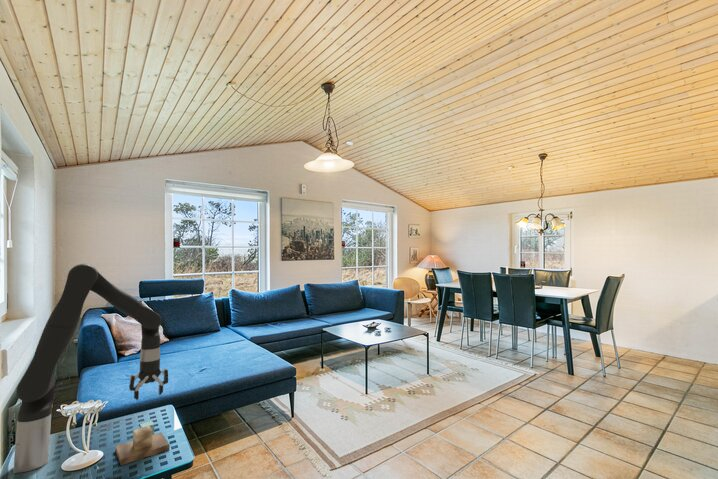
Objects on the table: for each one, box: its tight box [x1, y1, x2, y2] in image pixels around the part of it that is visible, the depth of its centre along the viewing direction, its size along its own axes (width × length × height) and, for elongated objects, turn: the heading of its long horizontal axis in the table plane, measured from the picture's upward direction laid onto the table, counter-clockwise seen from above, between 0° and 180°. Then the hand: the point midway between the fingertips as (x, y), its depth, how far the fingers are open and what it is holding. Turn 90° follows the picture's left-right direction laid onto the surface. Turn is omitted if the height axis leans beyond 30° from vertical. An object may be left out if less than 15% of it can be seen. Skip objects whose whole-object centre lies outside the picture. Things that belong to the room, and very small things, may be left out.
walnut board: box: [114, 432, 171, 466], centre depth 135 cm, size 16×13×2 cm
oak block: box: [132, 426, 153, 450], centre depth 136 cm, size 6×6×6 cm
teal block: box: [139, 420, 155, 435], centre depth 148 cm, size 4×4×4 cm
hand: (148, 396), depth 148 cm, fingers open, 8 cm apart
